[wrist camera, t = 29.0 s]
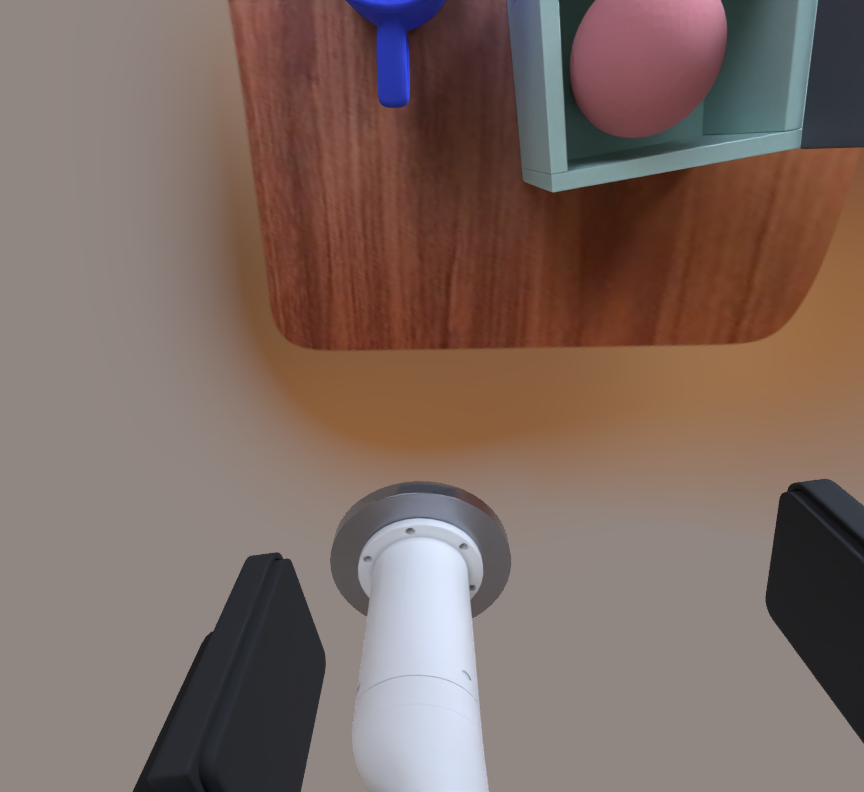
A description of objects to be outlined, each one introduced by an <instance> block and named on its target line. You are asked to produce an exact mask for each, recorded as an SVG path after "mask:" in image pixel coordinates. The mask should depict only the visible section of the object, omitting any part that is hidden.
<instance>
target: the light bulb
mask: <svg viewBox="0 0 864 792" xmlns="http://www.w3.org/2000/svg"><path fill="white" fill-rule="evenodd" d="M726 44H727V21H726V16H725V11H724V8H723V5H722V3H721V0H595V1H594V3H593V4H592V5H591V7H590V8H589V9H588V11H587V12H586V14H585V16H584V18H583V19H582V21H581V23H580V25H579V27H578V30H577V33H576V35H575V38H574V41H573V45H572V49H571V55H570V67H569V73H570V91H571V95H572V98H573V100H574V102H575V104H576V105H577V106H578V107H579V109H580V110H581V112H582V113H583V115H584V116H585V117H586V118H587V120H588V121H589V122H590V123H591V124H593V125H594V126H595V127H597V128H598V129H600V130H601V131H603V132H605V133H607V134H610V135H613V136H617V137H621V138H642V137H648V136H652V135H655V134H658V133H661V132H663V131H665V130H667V129H669V128H671V127H673V126H675V125H676V124H678V123H679V122H681V121H682V120H683V119H684V118H686V117H687V116H688V115H689V114H691V112H692V111H693V110H694V109H695V108H696V107H697V106H698V105H699V104H700V103H701V102H702V101H703V99H704V98H705V97H706V95H707V94H708V92H709V91H710V89H711V87H712V86H713V84H714V82H715V80H716V78H717V76H718V74H719V71H720V69H721V66H722V63H723V59H724V56H725V51H726Z"/></svg>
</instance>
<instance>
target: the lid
mask: <svg viewBox="0 0 864 792" xmlns="http://www.w3.org/2000/svg"><path fill="white" fill-rule="evenodd" d="M854 147H864V0H818V5H817V13H816V21H815V29H814V38H813V46H812V54H811V62H810V70H809V79H808V87H807V95H806V103H805V112H804V120H803V128H802V136H801V144H800V148H801V149H819V148H854Z"/></svg>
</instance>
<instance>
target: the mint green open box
mask: <svg viewBox="0 0 864 792" xmlns="http://www.w3.org/2000/svg"><path fill="white" fill-rule="evenodd" d="M594 1H595V0H507V8H508V20H509V31H510V42H511V53H512V65H513V76H514V87H515V98H516V110H517V121H518V132H519V143H520V155H521V166H522V177H523V181H524V182H526V183H529V184H531V185H534V186H537V187H539V188H542V189H545V190H547V191H550V192H553V193H554V192H559V191H565V190H570V189H576V188H581V187H587V186H592V185H598V184H603V183H609V182H614V181H620V180H626V179H631V178H637V177H642V176H648V175H653V174H659V173H664V172H670V171H675V170H681V169H686V168H692V167H697V166H703V165H708V164H714V163H719V162H725V161H730V160H736V159H741V158H747V157H752V156H758V155H764V154H769V153H775V152H780V151H786V150H791V149H797V148H800V144H801V136H802V129H801V128H802V125H803V117H804V109H805V101H806V92H807V84H808V76H809V68H810V59H811V51H812V43H813V35H814V26H815V18H816V10H817V2H818V0H721V3H722V5H723V8H724V11H725V16H726V21H727V44H726V51H725V56H724V59H723V63H722V66H721V69H720V71H719V74H718V76H717V78H716V80H715V82H714V84H713V86H712V87H711V89H710V91H709V92H708V94H707V95H706V97H705V98H704V99H703V101H702V102H701V103H700V104H699V105H698V106H697V107H696V108H695V109H694V110H693V111H692V112H691V114H689V115H688V116H687V117H686V118H684V119H683V120H682V121H681V122H679V123H678V124H676V125H675V126H673V127H671V128H669V129H667V130H665V131H663V132H661V133H658V134H655V135H652V136H648V137H642V138H621V137H617V136H613V135H610V134H607V133H605V132H603V131H601V130H600V129H598V128H597V127H595V126H594V125H593V124H591V123H590V122H589V121H588V120H587V118H586V117H585V116H584V115H583V113H582V112H581V110H580V109H579V107H578V106H577V105H576V104H575V102H574V100H573V98H572V95H571V91H570V73H569V67H570V55H571V49H572V45H573V41H574V38H575V35H576V33H577V30H578V27H579V25H580V23H581V21H582V19H583V18H584V16H585V14H586V12H587V11H588V9H589V8H590V7H591V5H592V4H593V3H594Z"/></svg>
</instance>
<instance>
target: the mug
mask: <svg viewBox="0 0 864 792" xmlns="http://www.w3.org/2000/svg"><path fill="white" fill-rule="evenodd" d="M346 1H347V2H348V3H349V4H350V5H351V6H352V7H353V8H354V9H355V10H356V11H357V12H358V13H359V14H361V15H362V16H363V17H364V18H365V19H367V20H368V21H369V22H371V23H373V24H374V25H376V26H377V78H378V97H379V102H380V104H381V105H383V106H384V107H389V108H399V107H403V106H405V105H407V104H408V102H409V97H410V61H409V44H408V36H407V32H408V31H409V30H412V29H415V28H417V27H419V26H421V25H423V24H424V23H426V22H427V21H429V20H430V19H431V18H432V17H433V16H435V15H436V13H437V12H438V11H439V10H440V9H441V7H442V6H443V4H444V3H445V1H446V0H346Z"/></svg>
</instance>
